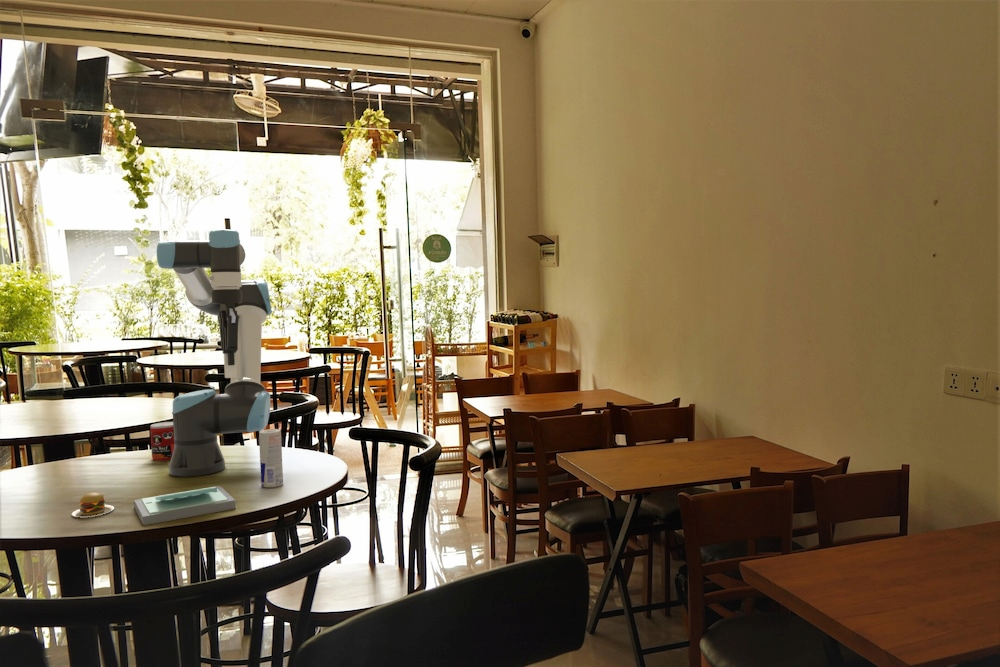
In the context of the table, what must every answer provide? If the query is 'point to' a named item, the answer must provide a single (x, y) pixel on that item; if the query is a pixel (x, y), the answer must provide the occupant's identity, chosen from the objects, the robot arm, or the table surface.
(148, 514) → the board
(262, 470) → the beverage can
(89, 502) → the hamburger
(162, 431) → the canned food
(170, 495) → the stub
